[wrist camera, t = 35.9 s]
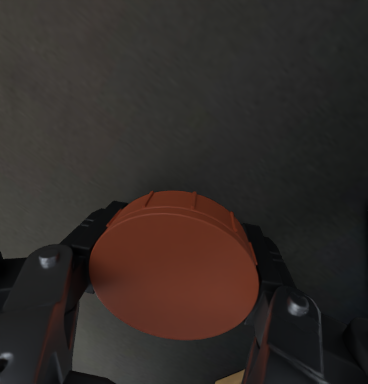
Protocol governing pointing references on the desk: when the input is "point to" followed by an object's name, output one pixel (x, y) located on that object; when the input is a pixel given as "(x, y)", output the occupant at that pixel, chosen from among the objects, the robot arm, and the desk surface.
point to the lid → (175, 267)
